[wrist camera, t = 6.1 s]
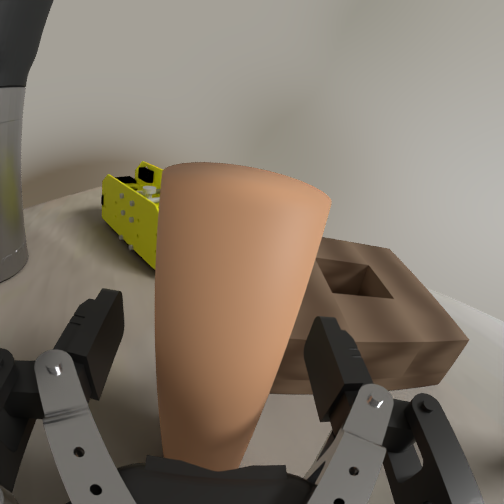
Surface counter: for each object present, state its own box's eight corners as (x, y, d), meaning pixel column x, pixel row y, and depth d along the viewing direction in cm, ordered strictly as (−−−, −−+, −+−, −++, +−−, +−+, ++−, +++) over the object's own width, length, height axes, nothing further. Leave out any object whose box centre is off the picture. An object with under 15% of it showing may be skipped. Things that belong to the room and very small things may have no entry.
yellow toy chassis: (205, 269, 31) (216, 191, 27) (158, 284, 27) (163, 197, 23) (136, 217, 40) (140, 158, 36) (99, 223, 36) (101, 161, 32)
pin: (160, 483, 11) (139, 190, 5) (167, 422, 14) (178, 156, 8) (240, 491, 11) (357, 225, 5) (237, 430, 15) (308, 178, 9)
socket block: (252, 392, 18) (269, 336, 16) (243, 269, 32) (251, 225, 30) (438, 384, 20) (469, 339, 18) (374, 285, 34) (389, 248, 32)
